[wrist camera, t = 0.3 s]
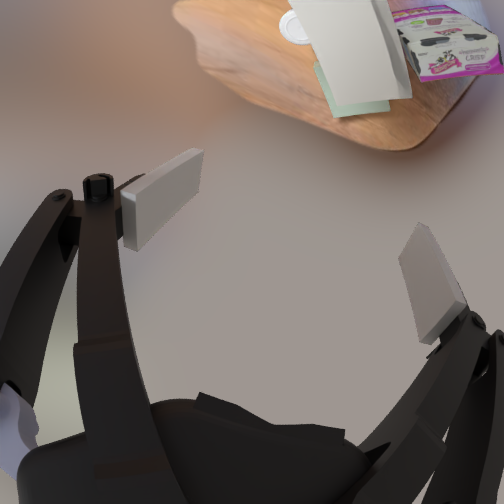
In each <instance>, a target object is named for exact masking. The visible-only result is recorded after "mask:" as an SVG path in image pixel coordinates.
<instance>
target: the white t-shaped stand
mask: <svg viewBox="0 0 504 504" xmlns="http://www.w3.org/2000/svg"><path fill="white" fill-rule="evenodd" d="M288 1H289V3H290V5H291V7H292V8H293V10H294V12H295V14H296V16H297V18H298V19H299V21H300V23H301V25H302V27H303V29H304V31H305V33H306V35H307V37H308V39H309V41H310V43H311V45H312V47H313V50H314V52H315V54H316V56H317V58H318V61H319V63H320V65H321V67H322V70H323V72H324V74H325V77H326V79H327V82H328V84H329V87H330V89H331V92H332V94H333V97H334V99H335V102H336V105H337V106H342V105H349V104H356V103H363V102H372V101H381V100H391V99H404V98H413V95H412V90H411V84H410V79H409V75H408V70H407V66H406V61H405V57H404V53H403V49H402V46H401V42H400V38H399V35H398V32H397V28H396V25H395V22H394V19H393V16H392V13H391V11H390V8H389V5H388V2H387V0H288Z"/></svg>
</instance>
